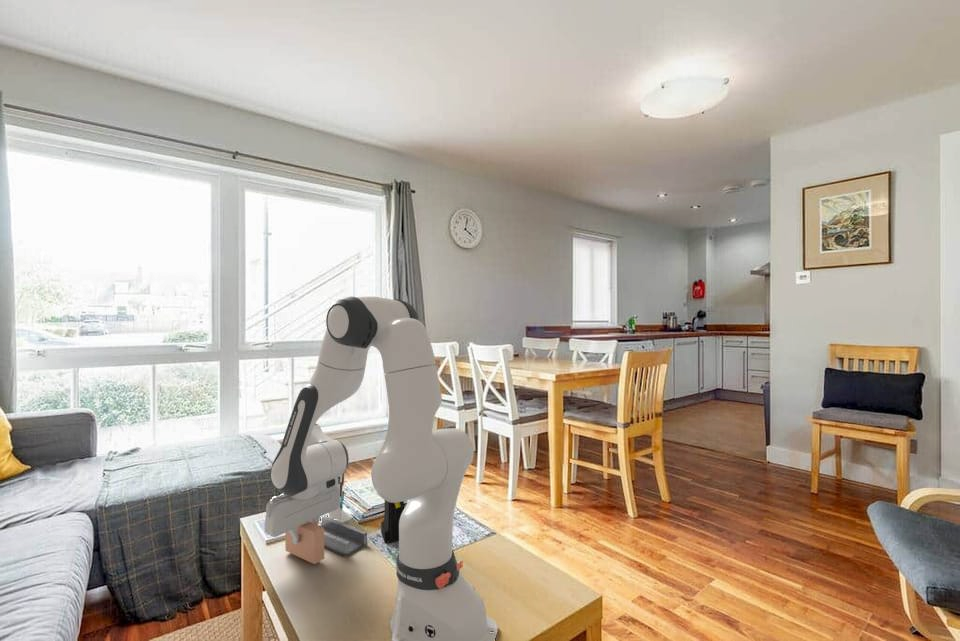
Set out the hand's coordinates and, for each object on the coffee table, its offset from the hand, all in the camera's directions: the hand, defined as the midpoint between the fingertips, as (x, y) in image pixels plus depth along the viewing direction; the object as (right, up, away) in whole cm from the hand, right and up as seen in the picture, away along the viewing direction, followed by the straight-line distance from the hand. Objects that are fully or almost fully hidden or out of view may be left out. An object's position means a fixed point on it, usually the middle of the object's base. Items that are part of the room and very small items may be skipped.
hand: (304, 538), depth 116 cm
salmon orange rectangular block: (0, -4, 0) cm, 4 cm away
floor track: (+5, -5, +9) cm, 11 cm away
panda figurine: (0, -5, +24) cm, 24 cm away
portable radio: (+21, -5, +11) cm, 25 cm away
